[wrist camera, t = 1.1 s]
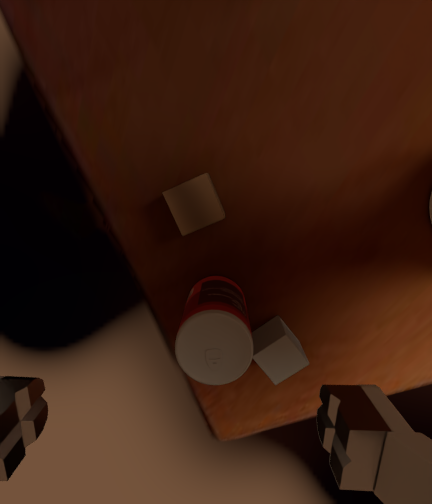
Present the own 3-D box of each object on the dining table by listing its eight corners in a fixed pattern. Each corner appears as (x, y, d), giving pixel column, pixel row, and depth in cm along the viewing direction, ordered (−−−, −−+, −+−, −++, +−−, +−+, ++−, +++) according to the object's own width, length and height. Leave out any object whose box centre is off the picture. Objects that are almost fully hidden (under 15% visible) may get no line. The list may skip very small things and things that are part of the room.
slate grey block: (278, 314, 38) (286, 334, 33) (298, 340, 39) (309, 364, 34) (248, 334, 39) (251, 357, 34) (269, 359, 40) (275, 385, 35)
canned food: (200, 335, 39) (191, 394, 28) (178, 283, 37) (161, 327, 26) (253, 318, 38) (265, 374, 27) (234, 265, 36) (238, 302, 25)
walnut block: (208, 173, 33) (206, 172, 28) (225, 212, 34) (225, 218, 30) (170, 190, 34) (162, 192, 29) (188, 228, 35) (182, 236, 30)
